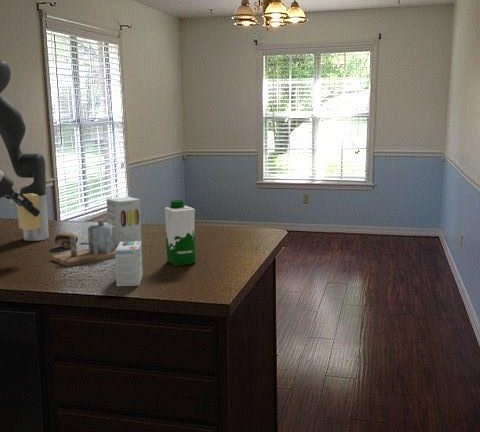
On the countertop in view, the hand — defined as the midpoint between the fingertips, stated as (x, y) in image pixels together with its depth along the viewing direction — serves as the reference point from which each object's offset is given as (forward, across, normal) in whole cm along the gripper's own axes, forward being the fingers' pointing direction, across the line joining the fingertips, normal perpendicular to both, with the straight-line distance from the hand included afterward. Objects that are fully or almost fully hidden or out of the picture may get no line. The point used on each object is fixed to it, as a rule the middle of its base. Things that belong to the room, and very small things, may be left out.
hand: (34, 213), depth 188 cm
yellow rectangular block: (+2, 0, +5) cm, 5 cm away
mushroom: (+22, +10, +1) cm, 24 cm away
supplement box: (+36, +1, -12) cm, 38 cm away
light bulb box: (+18, -43, +5) cm, 47 cm away
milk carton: (+34, -37, -12) cm, 52 cm away
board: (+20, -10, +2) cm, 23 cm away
